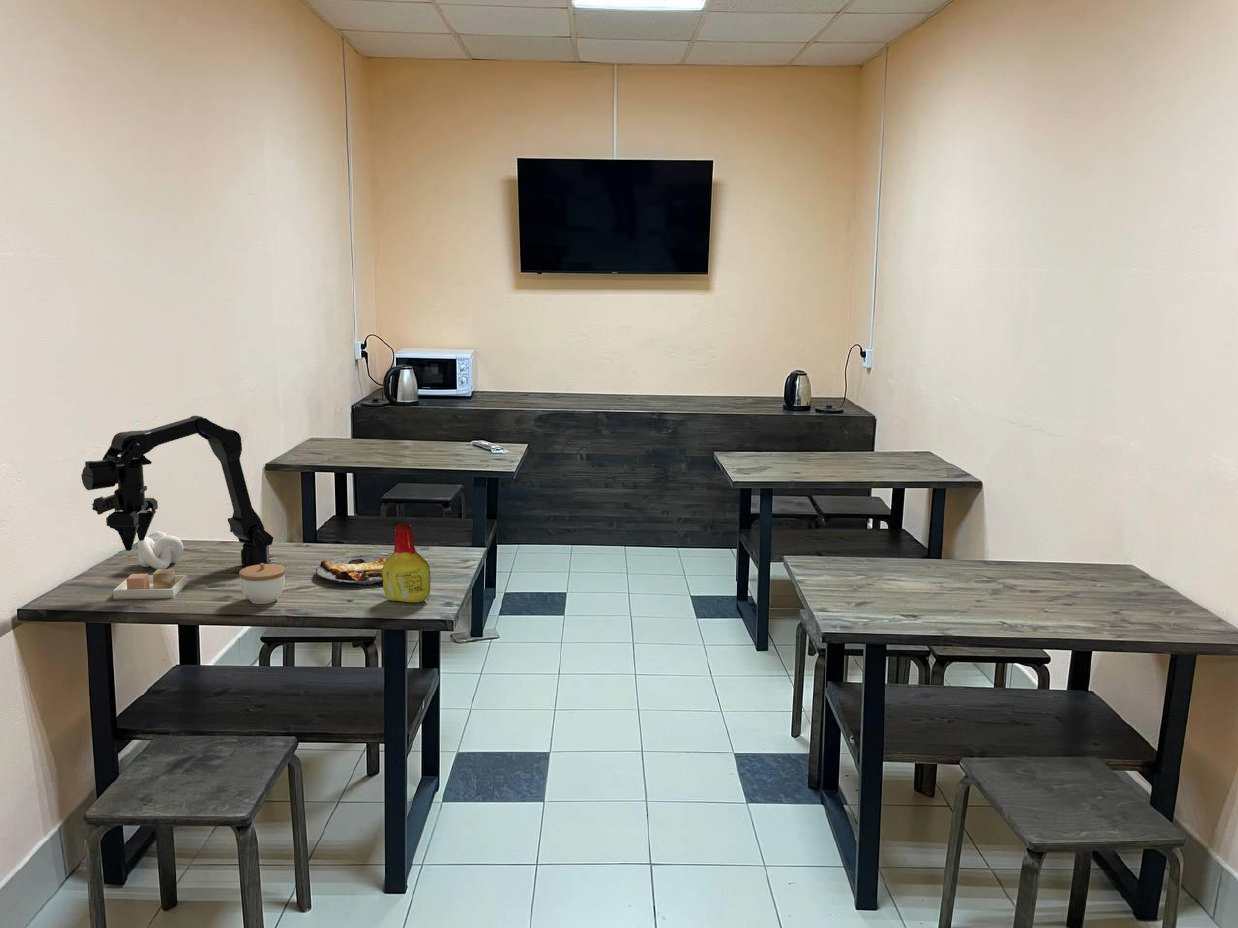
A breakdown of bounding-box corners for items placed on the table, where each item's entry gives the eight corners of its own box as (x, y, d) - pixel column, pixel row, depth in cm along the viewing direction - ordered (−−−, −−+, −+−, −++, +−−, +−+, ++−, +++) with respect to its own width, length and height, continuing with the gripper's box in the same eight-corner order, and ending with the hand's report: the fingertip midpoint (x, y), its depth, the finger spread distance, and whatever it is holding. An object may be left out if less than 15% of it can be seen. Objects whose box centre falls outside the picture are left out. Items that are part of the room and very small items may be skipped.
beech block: (175, 583, 248) (174, 568, 248) (170, 588, 244) (169, 573, 244) (158, 583, 248) (157, 569, 247) (153, 588, 244) (152, 573, 243)
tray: (187, 582, 251) (187, 574, 250) (173, 597, 239) (173, 589, 239) (130, 583, 249) (130, 575, 248) (113, 599, 237) (113, 590, 237)
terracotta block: (149, 588, 244) (148, 573, 243) (144, 593, 240) (143, 578, 239) (132, 589, 243) (131, 574, 242) (127, 594, 239) (126, 578, 238)
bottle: (379, 603, 239) (377, 525, 235) (388, 595, 245) (386, 518, 242) (425, 606, 238) (424, 528, 234) (433, 598, 244) (432, 521, 240)
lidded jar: (243, 609, 232) (241, 572, 231) (238, 596, 242) (236, 560, 240) (289, 603, 237) (288, 567, 235) (282, 591, 246) (281, 555, 245)
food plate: (321, 591, 247) (321, 578, 246) (310, 567, 267) (310, 555, 267) (418, 584, 257) (418, 571, 256) (400, 561, 278) (400, 549, 277)
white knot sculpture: (169, 574, 258) (167, 541, 256) (124, 572, 258) (122, 540, 256) (188, 561, 269) (186, 530, 267) (146, 560, 269) (144, 529, 268)
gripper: (110, 476, 244) (114, 536, 247) (80, 492, 226) (85, 556, 229) (156, 476, 246) (160, 535, 249) (131, 492, 228) (135, 555, 231)
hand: (135, 545), depth 239 cm, fingers open, 9 cm apart
